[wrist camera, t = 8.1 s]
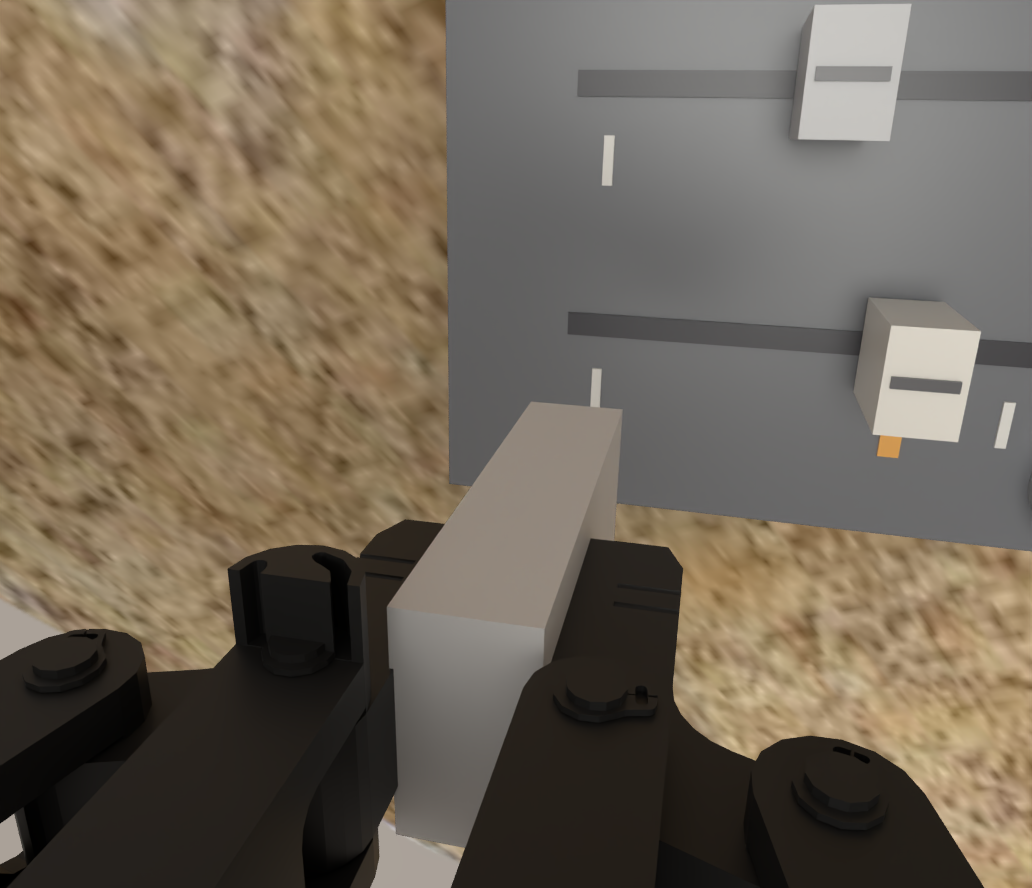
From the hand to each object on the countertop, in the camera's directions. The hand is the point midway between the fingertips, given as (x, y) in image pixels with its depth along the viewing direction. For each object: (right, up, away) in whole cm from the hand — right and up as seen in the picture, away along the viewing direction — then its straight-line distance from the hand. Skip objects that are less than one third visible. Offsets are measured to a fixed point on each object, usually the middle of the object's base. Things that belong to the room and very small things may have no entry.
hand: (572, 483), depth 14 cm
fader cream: (+10, +3, +10) cm, 15 cm away
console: (+8, +7, +13) cm, 17 cm away
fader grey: (+8, +10, +9) cm, 15 cm away
